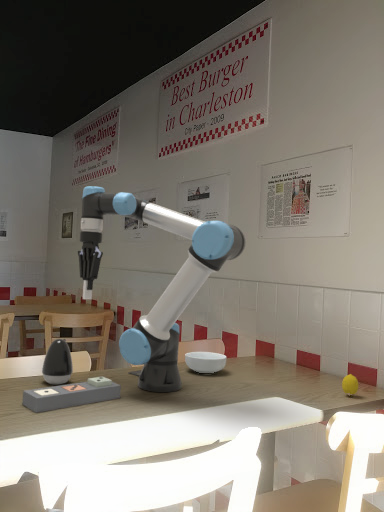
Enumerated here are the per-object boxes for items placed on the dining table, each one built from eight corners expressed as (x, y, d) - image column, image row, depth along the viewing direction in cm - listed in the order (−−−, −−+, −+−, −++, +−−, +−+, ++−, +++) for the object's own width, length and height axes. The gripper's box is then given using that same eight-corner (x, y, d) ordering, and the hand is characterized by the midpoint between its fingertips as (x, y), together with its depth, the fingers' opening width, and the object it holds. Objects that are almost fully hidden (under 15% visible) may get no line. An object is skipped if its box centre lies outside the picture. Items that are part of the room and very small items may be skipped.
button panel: (104, 391, 159) (105, 379, 159) (120, 397, 153) (120, 385, 153) (22, 404, 140) (23, 390, 140) (36, 412, 134) (37, 398, 134)
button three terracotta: (77, 393, 150) (77, 384, 151) (86, 397, 146) (86, 388, 147) (60, 395, 147) (61, 386, 147) (69, 400, 143) (70, 390, 143)
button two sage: (102, 384, 157) (102, 375, 157) (111, 388, 153) (112, 379, 153) (87, 387, 153) (87, 377, 153) (96, 391, 149) (97, 381, 149)
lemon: (358, 396, 173) (359, 373, 173) (356, 399, 168) (358, 376, 168) (342, 393, 175) (343, 371, 175) (340, 396, 170) (341, 374, 170)
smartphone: (167, 370, 193) (139, 375, 182) (167, 372, 193) (139, 377, 182) (154, 367, 198) (126, 371, 187) (154, 369, 198) (126, 374, 187)
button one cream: (50, 397, 144) (50, 387, 144) (59, 402, 140) (59, 392, 140) (32, 400, 141) (33, 390, 141) (41, 405, 137) (41, 394, 137)
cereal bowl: (228, 370, 203) (229, 353, 203) (222, 379, 187) (223, 360, 187) (189, 366, 207) (190, 349, 207) (179, 374, 190) (180, 356, 191)
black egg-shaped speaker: (76, 380, 171) (78, 337, 171) (65, 387, 161) (68, 342, 161) (48, 378, 172) (51, 335, 172) (36, 385, 162) (39, 339, 162)
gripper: (72, 230, 170) (68, 297, 170) (91, 230, 160) (87, 301, 160) (90, 232, 175) (86, 297, 175) (110, 232, 166) (106, 300, 165)
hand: (87, 299), depth 167 cm, fingers closed
